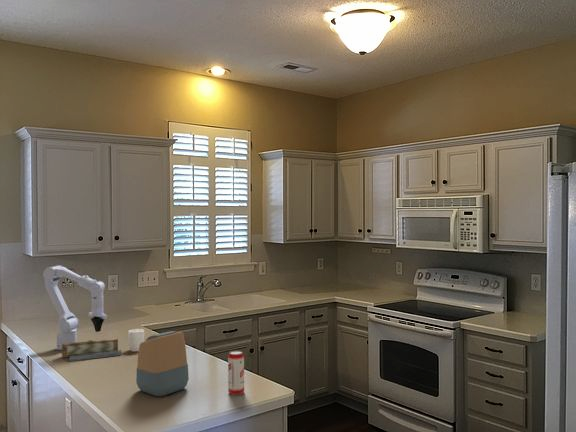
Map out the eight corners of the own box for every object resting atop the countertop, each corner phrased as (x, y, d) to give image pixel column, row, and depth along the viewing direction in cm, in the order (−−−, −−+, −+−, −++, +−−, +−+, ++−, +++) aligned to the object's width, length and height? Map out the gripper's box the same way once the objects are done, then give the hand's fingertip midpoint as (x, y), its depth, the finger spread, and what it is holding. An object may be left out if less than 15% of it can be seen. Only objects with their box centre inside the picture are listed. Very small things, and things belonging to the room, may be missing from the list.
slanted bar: (69, 361, 251) (69, 357, 251) (69, 359, 253) (69, 355, 253) (121, 355, 261) (121, 351, 261) (121, 353, 263) (120, 349, 263)
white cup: (147, 348, 273) (147, 329, 273) (139, 352, 265) (138, 332, 265) (134, 347, 275) (133, 328, 275) (125, 351, 267) (125, 332, 267)
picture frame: (62, 357, 256) (62, 344, 256) (62, 356, 259) (62, 342, 259) (117, 351, 266) (117, 338, 266) (117, 349, 269) (117, 337, 269)
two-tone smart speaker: (166, 380, 222) (166, 325, 222) (192, 388, 212) (191, 331, 211) (132, 391, 209) (131, 333, 209) (158, 400, 199) (157, 339, 198)
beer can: (244, 390, 209) (244, 350, 209) (243, 395, 203) (243, 354, 203) (229, 390, 209) (228, 350, 209) (227, 395, 203) (227, 354, 203)
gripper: (82, 304, 273) (83, 330, 273) (98, 308, 264) (98, 334, 264) (95, 302, 278) (95, 328, 279) (110, 305, 269) (111, 332, 270)
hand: (98, 331), depth 272 cm, fingers closed
